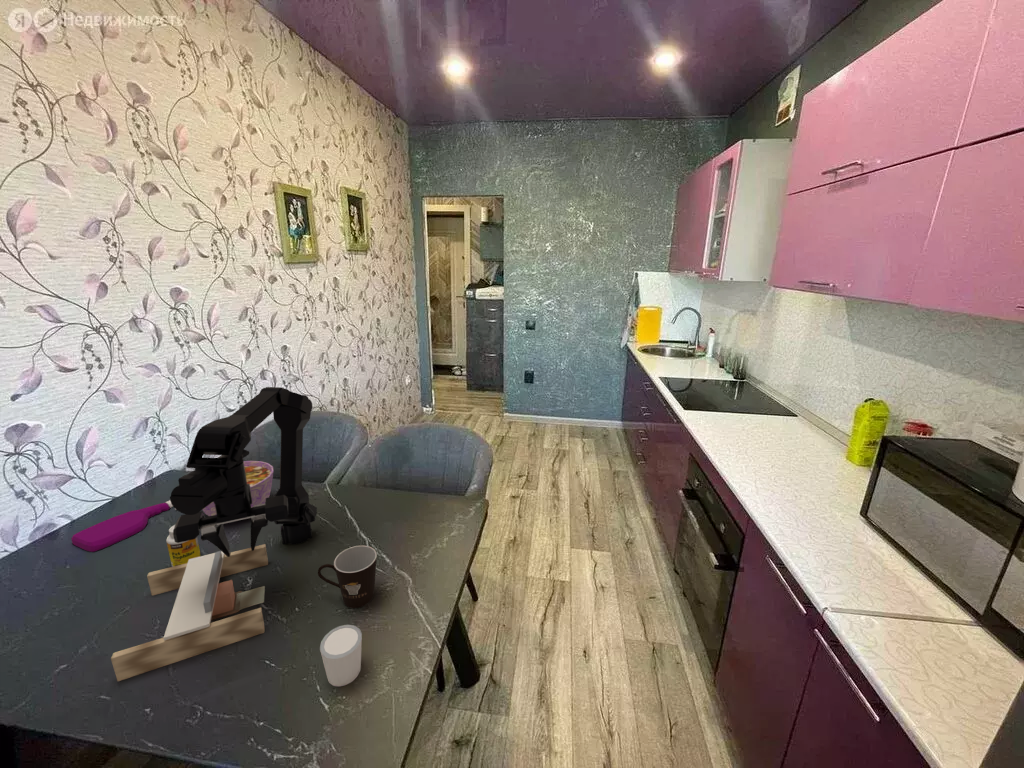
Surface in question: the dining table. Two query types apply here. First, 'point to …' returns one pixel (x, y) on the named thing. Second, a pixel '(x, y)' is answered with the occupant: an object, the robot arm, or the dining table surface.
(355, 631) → the white cylinder
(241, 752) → the dining table surface
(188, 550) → the supplement bottle
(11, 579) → the dining table surface
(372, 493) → the dining table surface
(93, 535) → the spray bottle
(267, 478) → the bowl of food
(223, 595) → the coral block
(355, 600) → the coffee mug
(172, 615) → the lid
